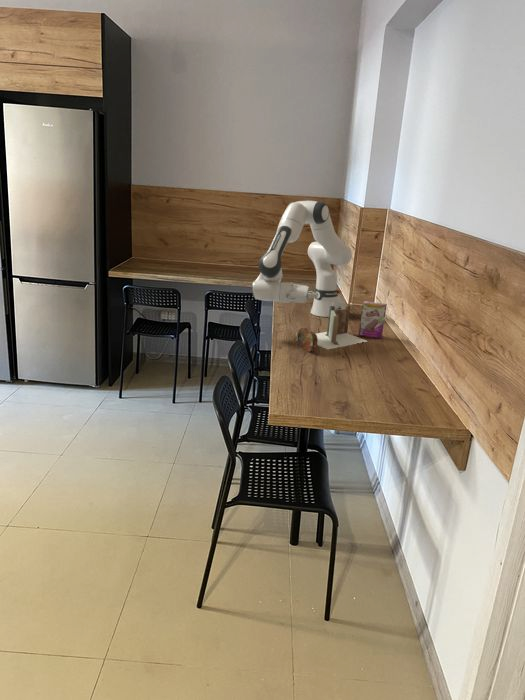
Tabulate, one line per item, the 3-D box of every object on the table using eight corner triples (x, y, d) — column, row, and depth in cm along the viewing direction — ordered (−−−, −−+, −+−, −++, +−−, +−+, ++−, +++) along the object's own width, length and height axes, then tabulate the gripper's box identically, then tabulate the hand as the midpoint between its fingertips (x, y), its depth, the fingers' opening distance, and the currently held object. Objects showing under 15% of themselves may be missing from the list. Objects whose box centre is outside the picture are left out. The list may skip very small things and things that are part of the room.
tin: (296, 343, 239) (298, 325, 236) (302, 343, 240) (304, 325, 237) (311, 354, 225) (312, 335, 223) (317, 354, 227) (319, 335, 224)
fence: (344, 331, 261) (347, 303, 256) (348, 332, 259) (351, 304, 254) (325, 334, 253) (328, 306, 249) (329, 336, 251) (332, 307, 247)
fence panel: (327, 334, 251) (330, 309, 247) (331, 335, 251) (334, 309, 247) (331, 343, 238) (334, 316, 234) (335, 344, 238) (338, 317, 234)
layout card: (337, 330, 263) (337, 329, 263) (367, 341, 248) (367, 340, 248) (297, 337, 248) (297, 336, 248) (327, 349, 233) (327, 348, 233)
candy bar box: (358, 335, 256) (362, 302, 251) (359, 333, 261) (363, 300, 256) (381, 339, 254) (386, 305, 249) (382, 336, 258) (387, 303, 253)
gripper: (285, 290, 229) (317, 293, 227) (289, 281, 248) (319, 283, 246) (284, 305, 231) (316, 307, 229) (288, 294, 250) (318, 297, 248)
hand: (317, 295), depth 238 cm, fingers closed
